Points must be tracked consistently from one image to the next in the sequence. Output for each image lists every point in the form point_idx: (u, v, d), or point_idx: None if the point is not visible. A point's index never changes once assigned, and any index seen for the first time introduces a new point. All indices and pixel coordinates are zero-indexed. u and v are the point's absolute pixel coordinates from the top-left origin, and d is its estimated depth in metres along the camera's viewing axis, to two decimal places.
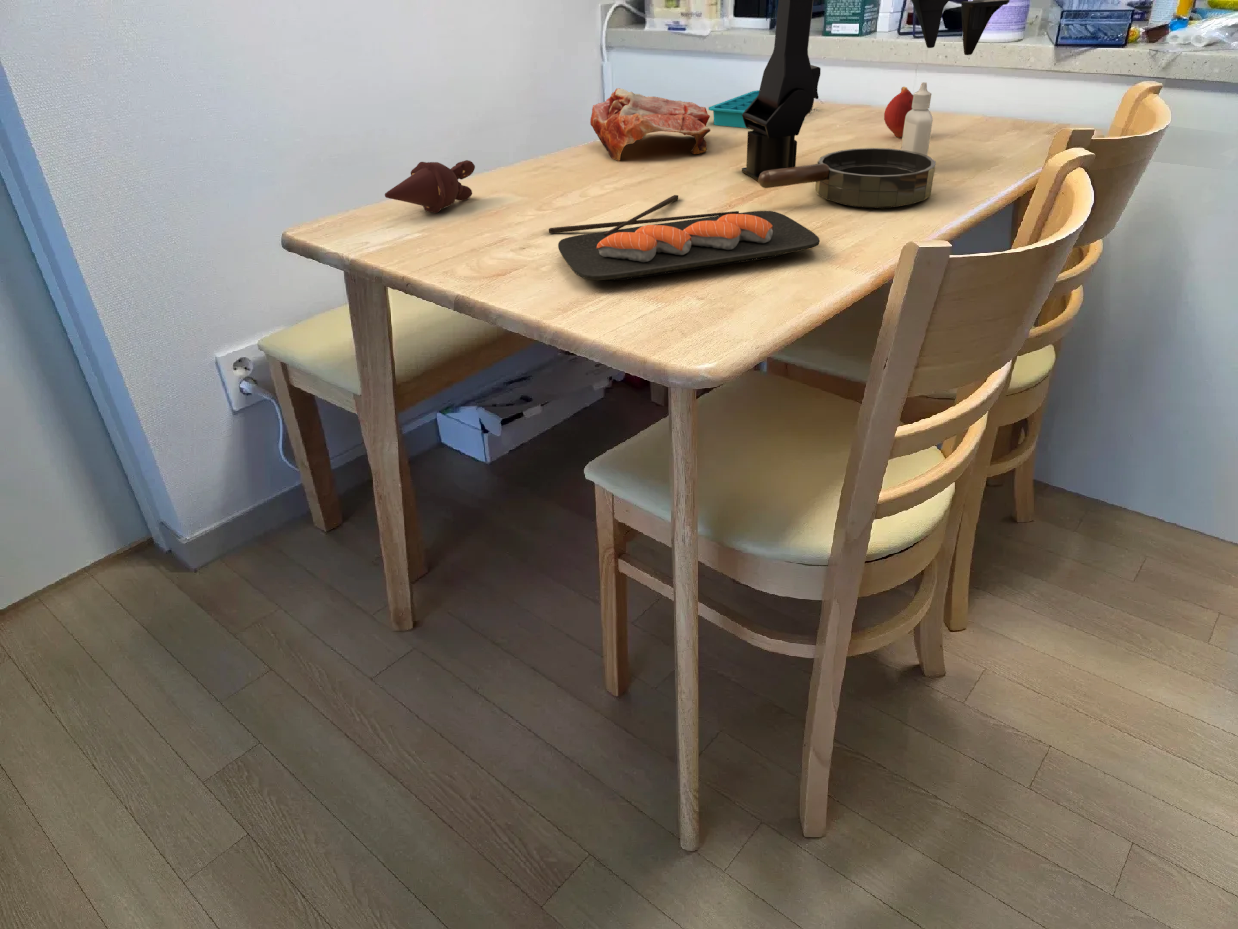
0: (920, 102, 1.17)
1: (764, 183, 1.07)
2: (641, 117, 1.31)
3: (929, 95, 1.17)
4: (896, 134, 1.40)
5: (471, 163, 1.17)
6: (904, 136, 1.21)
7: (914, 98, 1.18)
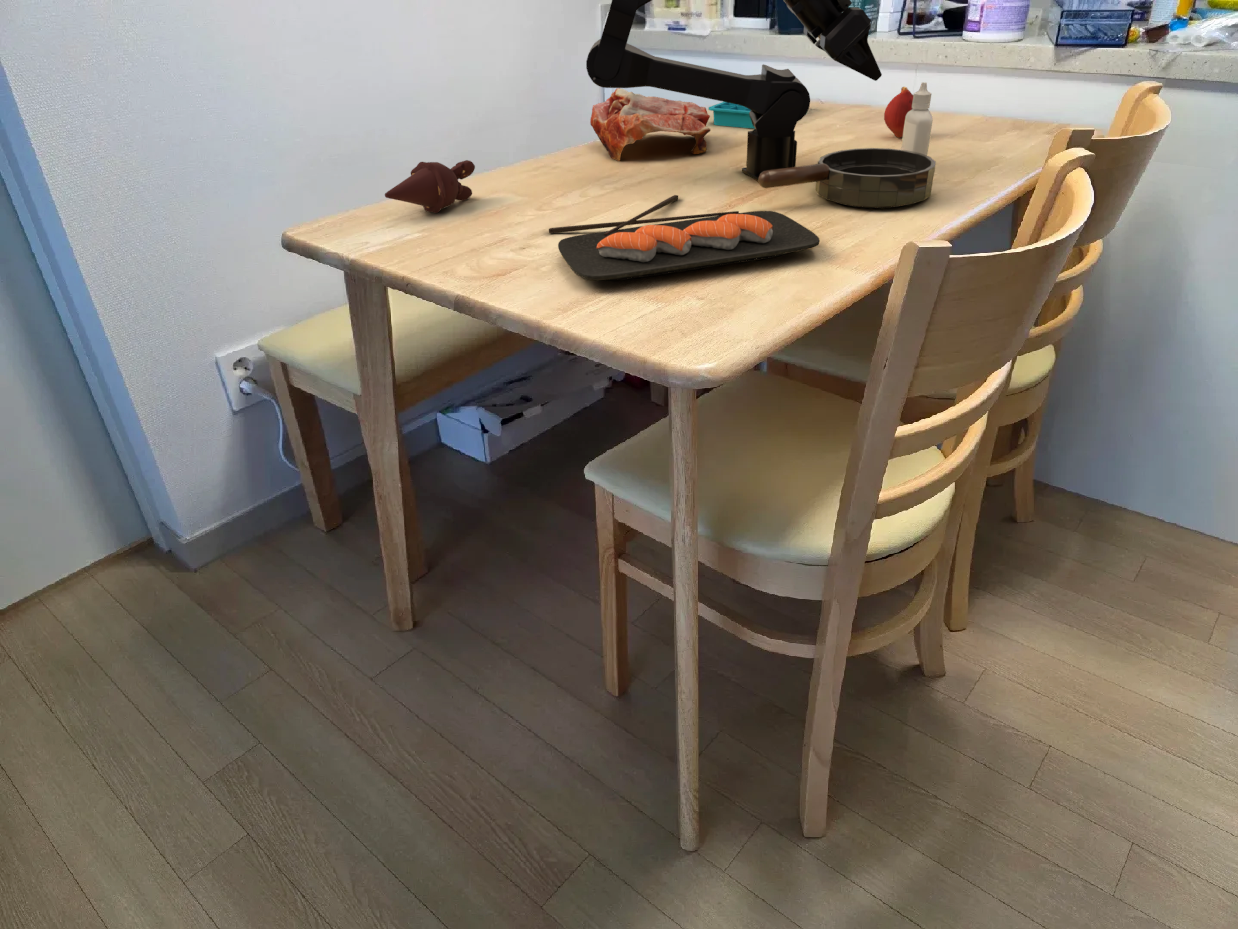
0: (920, 102, 1.17)
1: (764, 183, 1.07)
2: (641, 117, 1.31)
3: (929, 95, 1.17)
4: (896, 134, 1.40)
5: (471, 163, 1.17)
6: (904, 136, 1.21)
7: (914, 98, 1.18)
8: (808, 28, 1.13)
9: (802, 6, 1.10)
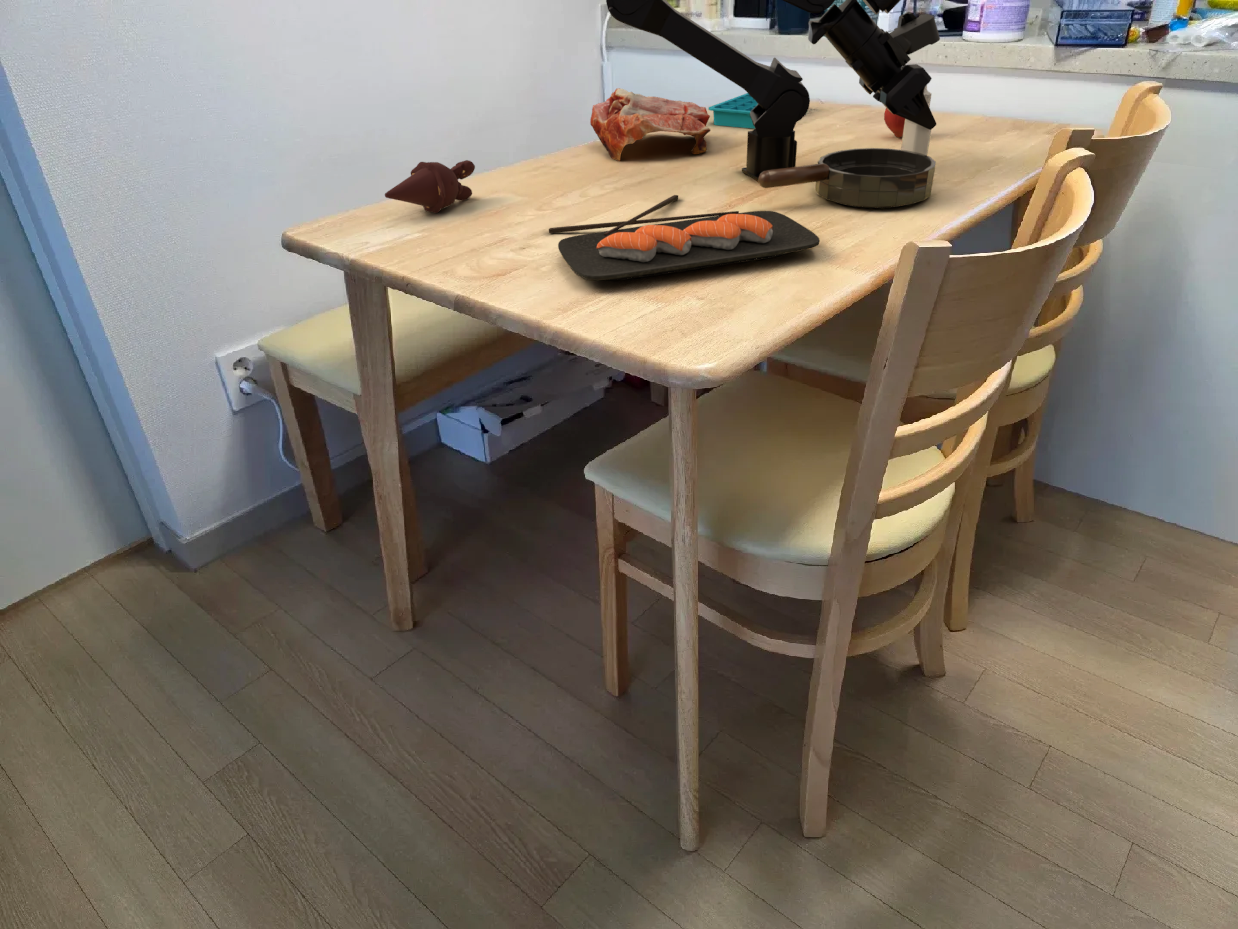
0: None
1: (764, 183, 1.07)
2: (641, 117, 1.31)
3: (929, 95, 1.17)
4: (896, 134, 1.40)
5: (471, 163, 1.17)
6: (904, 136, 1.21)
7: None
8: (867, 83, 1.16)
9: (862, 63, 1.14)
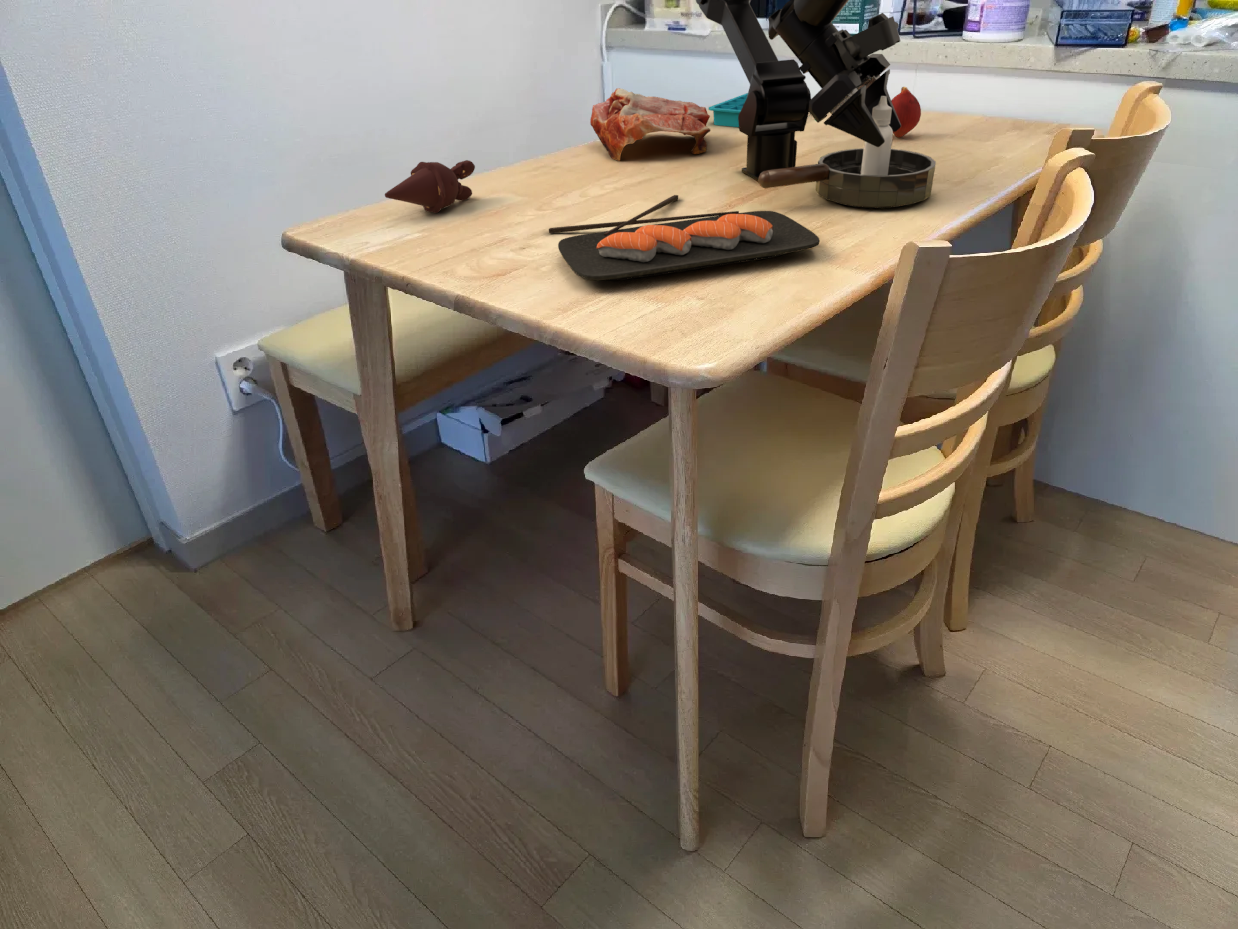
0: (876, 117, 1.08)
1: (764, 183, 1.07)
2: (641, 117, 1.31)
3: (886, 110, 1.07)
4: (896, 134, 1.40)
5: (471, 163, 1.17)
6: None
7: (872, 112, 1.08)
8: None
9: (809, 65, 1.07)
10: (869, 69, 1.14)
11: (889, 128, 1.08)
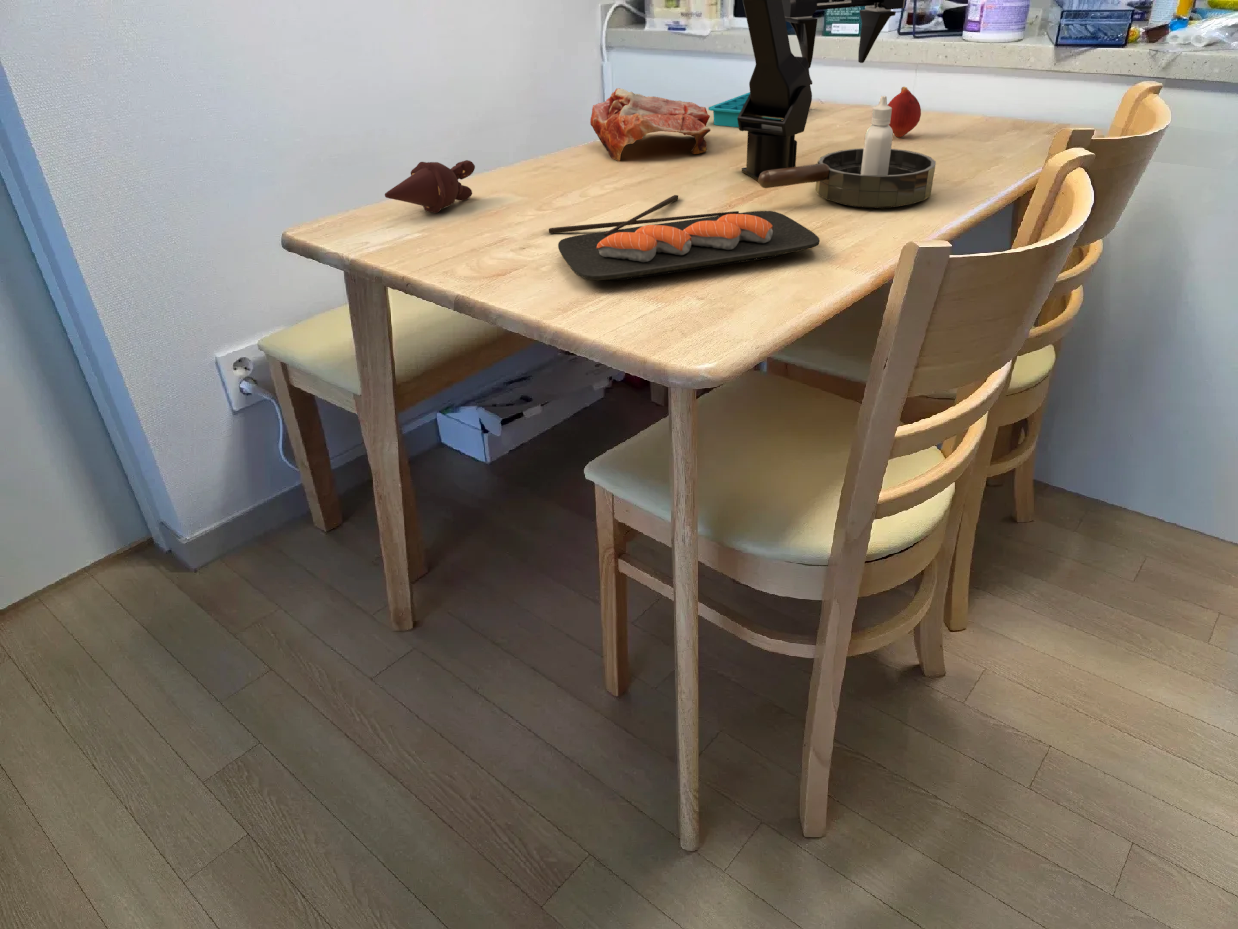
0: (876, 117, 1.08)
1: (764, 183, 1.07)
2: (641, 117, 1.31)
3: (886, 110, 1.07)
4: (896, 134, 1.40)
5: (471, 163, 1.17)
6: None
7: (872, 112, 1.08)
8: None
9: None
10: None
11: (889, 128, 1.08)
